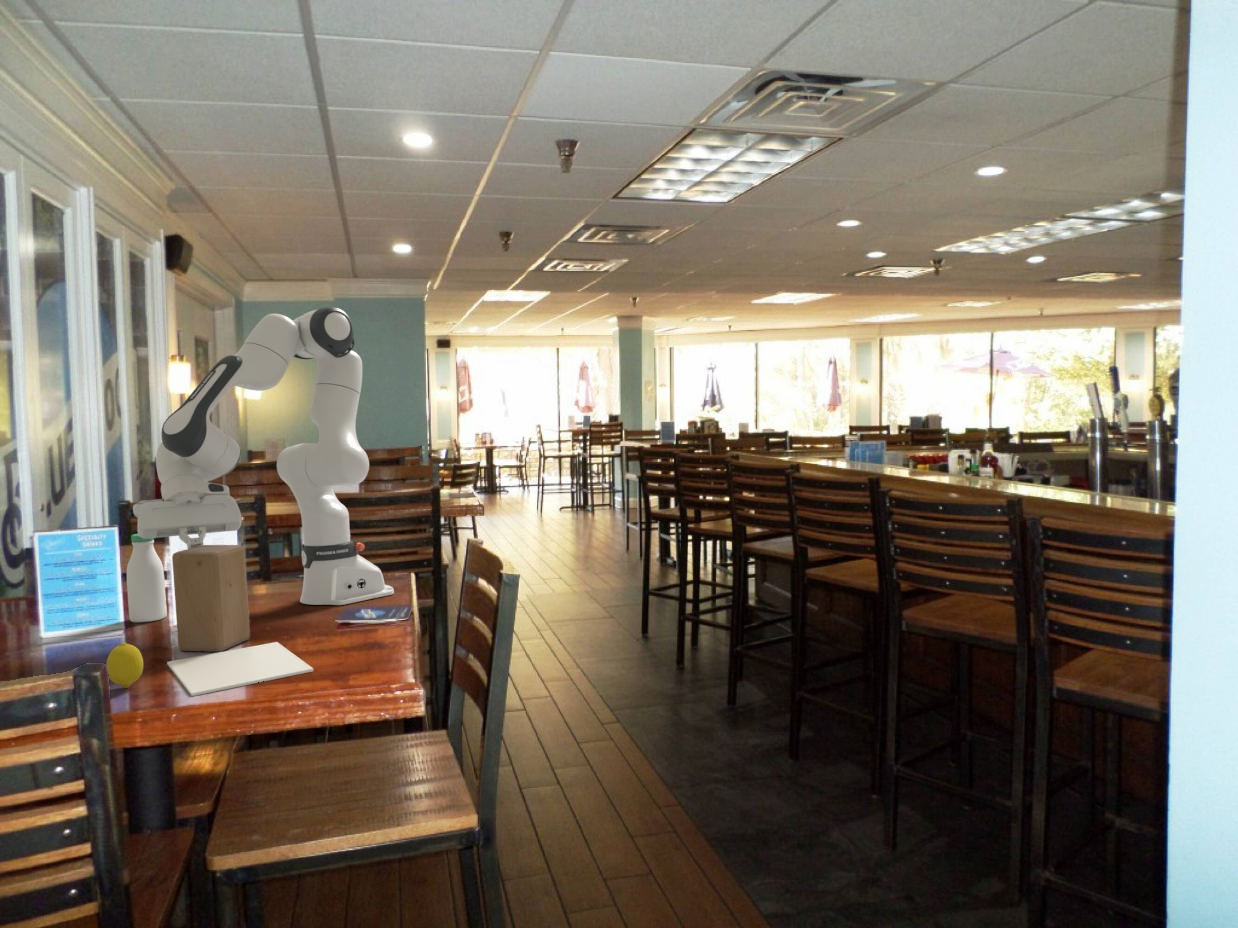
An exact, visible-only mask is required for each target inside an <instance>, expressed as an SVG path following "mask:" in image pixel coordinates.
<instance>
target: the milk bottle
mask: <svg viewBox="0 0 1238 928" xmlns="http://www.w3.org/2000/svg"><path fill="white" fill-rule="evenodd" d="M130 538H131V545H132V551H131V552H132V553H131V555H130V558H129V560H128V563H127V567H126V590H127V602H128V605H127V606H128V615H129V616H128V618H129V621H130V622H131V623H148V622H154V621H155V622H156V621H159V620H163V619H164V618H166V617H167V615H168V610H167V609H168V607H167V596H166V594H167V593H166V582H165V571H164V565H163V563H162V560H161V558H160V557H159V555H158V554H157V552H156V549H155V546H154V543H155V538H148V539H143V538H141V537H140V536H138V533H133V534H132V535H131V537H130Z"/></svg>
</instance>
